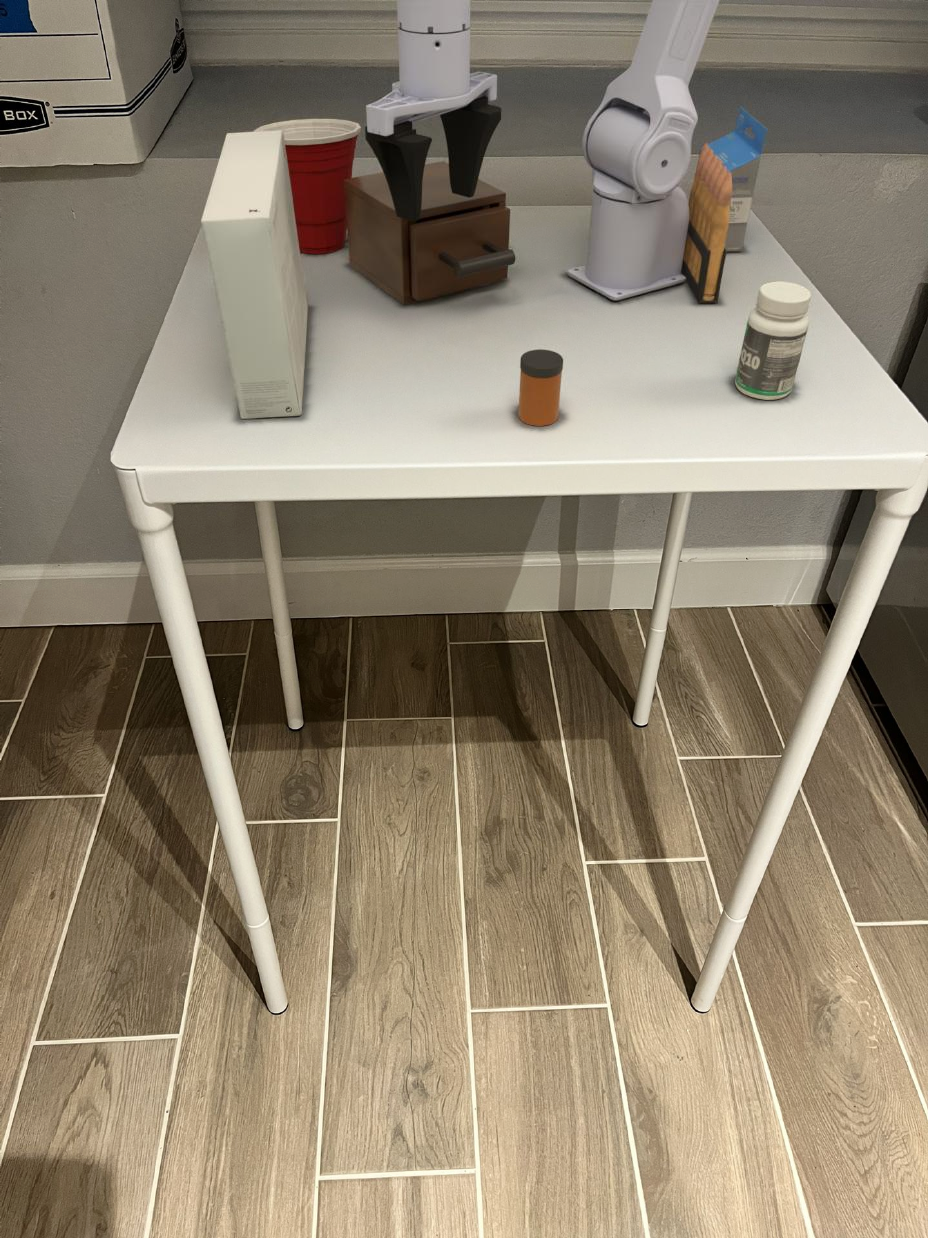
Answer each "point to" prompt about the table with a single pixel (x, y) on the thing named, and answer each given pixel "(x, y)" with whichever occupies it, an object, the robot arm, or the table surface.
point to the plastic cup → (319, 178)
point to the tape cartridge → (740, 172)
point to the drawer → (459, 250)
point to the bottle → (540, 387)
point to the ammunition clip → (707, 227)
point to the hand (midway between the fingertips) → (436, 205)
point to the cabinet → (399, 224)
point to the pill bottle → (773, 341)
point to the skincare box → (258, 273)
